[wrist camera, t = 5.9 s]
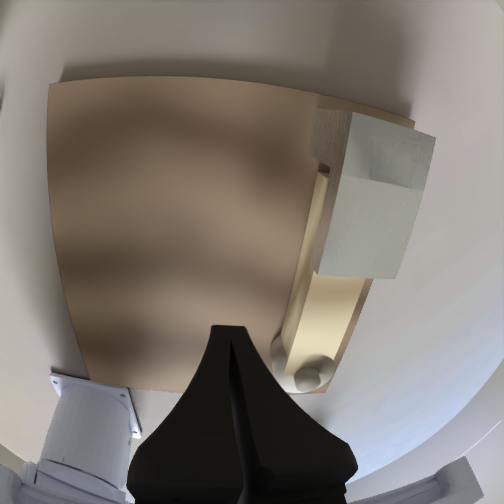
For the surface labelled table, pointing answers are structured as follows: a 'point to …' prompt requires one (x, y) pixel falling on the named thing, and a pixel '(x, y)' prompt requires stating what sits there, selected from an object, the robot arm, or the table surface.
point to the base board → (181, 216)
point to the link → (313, 315)
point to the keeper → (367, 192)
